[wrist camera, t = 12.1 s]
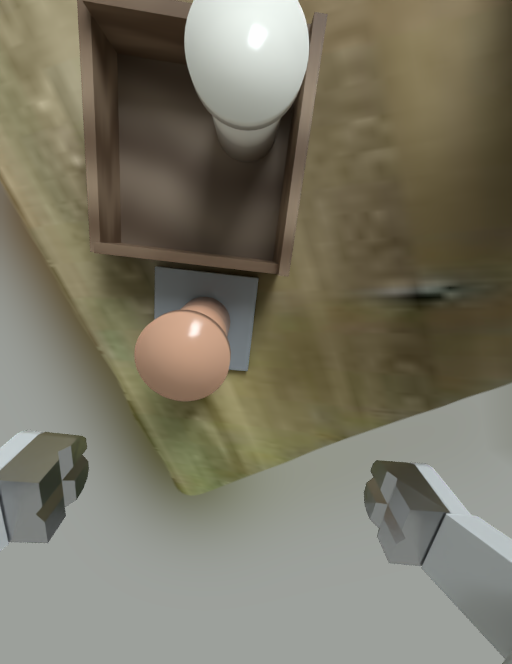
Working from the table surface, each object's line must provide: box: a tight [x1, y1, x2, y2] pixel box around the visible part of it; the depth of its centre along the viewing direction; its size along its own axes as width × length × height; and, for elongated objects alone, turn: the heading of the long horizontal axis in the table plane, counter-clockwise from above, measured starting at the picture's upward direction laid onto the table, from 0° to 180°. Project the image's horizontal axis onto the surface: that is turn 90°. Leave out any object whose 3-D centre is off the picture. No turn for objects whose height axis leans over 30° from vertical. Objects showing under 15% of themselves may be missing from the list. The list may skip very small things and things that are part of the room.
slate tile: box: [154, 266, 259, 371], centre depth 29 cm, size 10×10×1 cm
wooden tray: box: [77, 0, 327, 276], centre depth 22 cm, size 16×16×7 cm
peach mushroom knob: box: [135, 297, 231, 401], centre depth 24 cm, size 6×6×10 cm
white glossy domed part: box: [184, 0, 309, 162], centre depth 19 cm, size 6×6×10 cm
